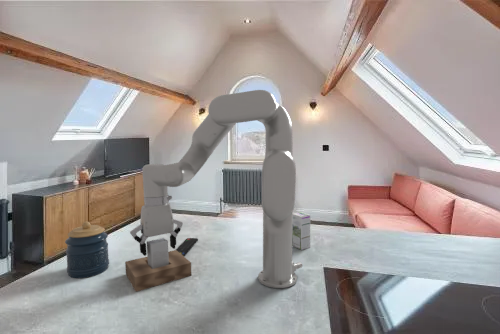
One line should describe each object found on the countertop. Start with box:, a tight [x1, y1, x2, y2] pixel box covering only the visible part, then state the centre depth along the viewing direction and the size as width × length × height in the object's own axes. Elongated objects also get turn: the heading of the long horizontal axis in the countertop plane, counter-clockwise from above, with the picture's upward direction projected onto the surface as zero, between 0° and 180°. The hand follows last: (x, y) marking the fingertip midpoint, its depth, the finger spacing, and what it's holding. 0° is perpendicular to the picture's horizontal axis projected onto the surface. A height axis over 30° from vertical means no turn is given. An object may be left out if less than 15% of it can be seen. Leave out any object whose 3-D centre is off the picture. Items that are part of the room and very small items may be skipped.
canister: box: [64, 221, 110, 279], centre depth 99 cm, size 13×13×18 cm
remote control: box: [175, 237, 199, 257], centre depth 119 cm, size 5×24×1 cm, turn 174°
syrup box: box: [292, 211, 311, 251], centre depth 121 cm, size 6×6×14 cm
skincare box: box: [146, 237, 170, 269], centre depth 96 cm, size 6×4×12 cm
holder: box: [124, 249, 192, 292], centre depth 96 cm, size 18×14×4 cm
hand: (158, 250), depth 95 cm, fingers open, 9 cm apart
